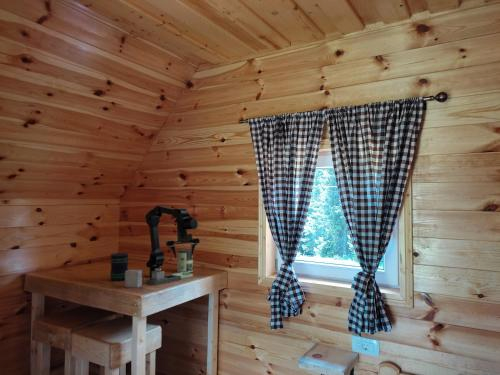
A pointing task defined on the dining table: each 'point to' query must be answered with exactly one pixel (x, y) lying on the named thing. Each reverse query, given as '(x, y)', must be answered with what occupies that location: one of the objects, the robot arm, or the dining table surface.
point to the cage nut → (157, 274)
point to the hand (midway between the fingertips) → (183, 257)
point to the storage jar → (118, 266)
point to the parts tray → (183, 275)
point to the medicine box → (133, 278)
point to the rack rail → (164, 280)
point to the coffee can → (184, 261)
